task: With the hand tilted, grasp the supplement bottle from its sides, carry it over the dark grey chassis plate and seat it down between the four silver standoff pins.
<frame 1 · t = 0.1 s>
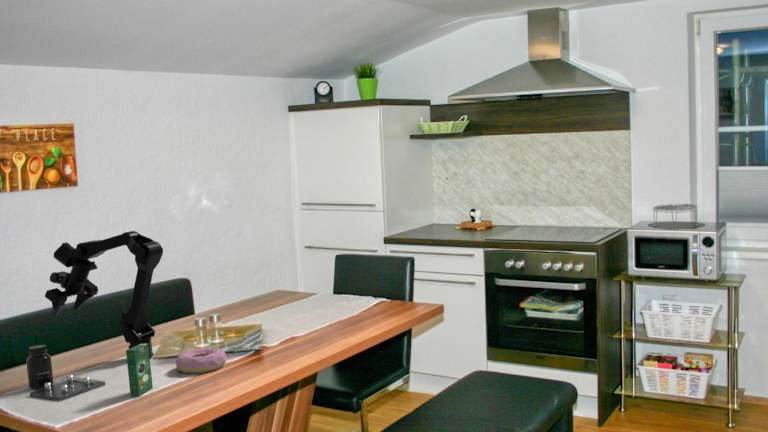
hand: (64, 312, 272), 15 cm above the table, tool tilted 35°, fingers open, 9 cm apart
chassis: (68, 390, 230), on the table
coffee box: (142, 393, 223), on the table
supplement bottle: (41, 386, 238), on the table
donut: (202, 368, 244), on the table
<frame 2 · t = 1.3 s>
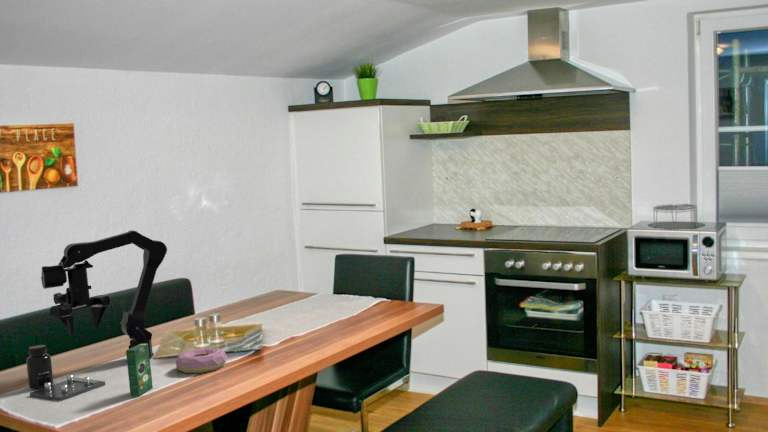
hand: (83, 332, 251), 12 cm above the table, tool pointing down, fingers open, 9 cm apart
nothing on the table moved.
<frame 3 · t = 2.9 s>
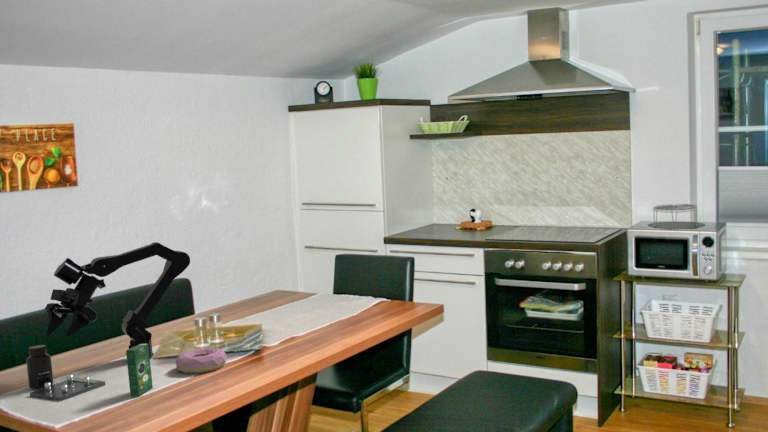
hand: (56, 335, 242), 13 cm above the table, tool tilted 45°, fingers open, 9 cm apart
nothing on the table moved.
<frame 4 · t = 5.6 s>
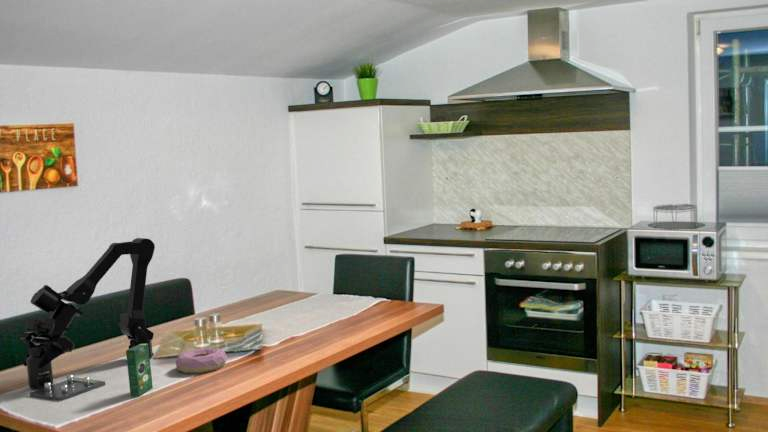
hand: (31, 366, 235), 7 cm above the table, tool tilted 45°, fingers closed on supplement bottle, 6 cm apart
supplement bottle: (41, 386, 238), on the table, touching gripper
everything else where it was.
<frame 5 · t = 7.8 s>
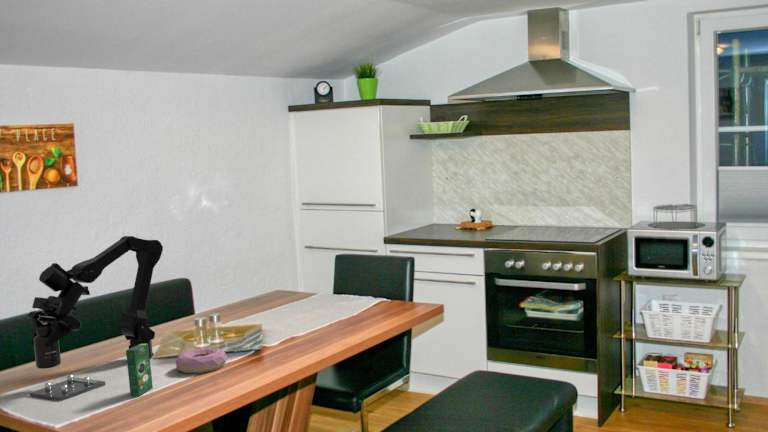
hand: (39, 345, 232), 13 cm above the table, tool tilted 45°, fingers closed on supplement bottle, 6 cm apart
supplement bottle: (49, 366, 235), point 6 cm above the table, touching gripper
everything else where it was.
when the fingers open (8 cm above the table, at t = 10.3 s): supplement bottle stays where it is, resting on chassis.
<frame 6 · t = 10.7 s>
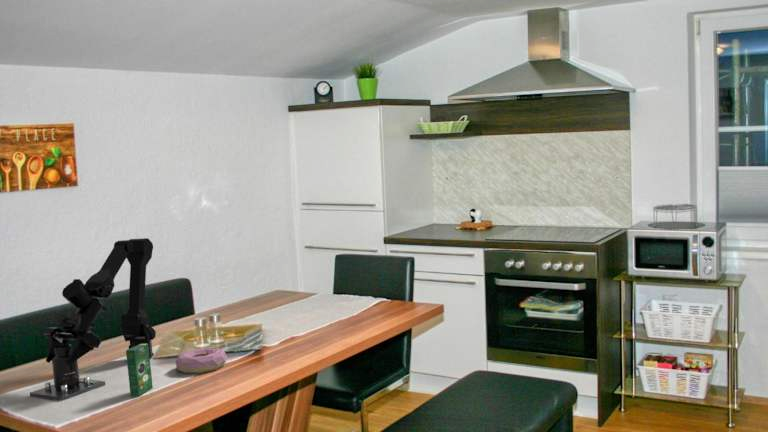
hand: (57, 363, 228), 9 cm above the table, tool tilted 45°, fingers open, 9 cm apart
supplement bottle: (67, 387, 231), point 1 cm above the table, touching chassis
everything else where it was.
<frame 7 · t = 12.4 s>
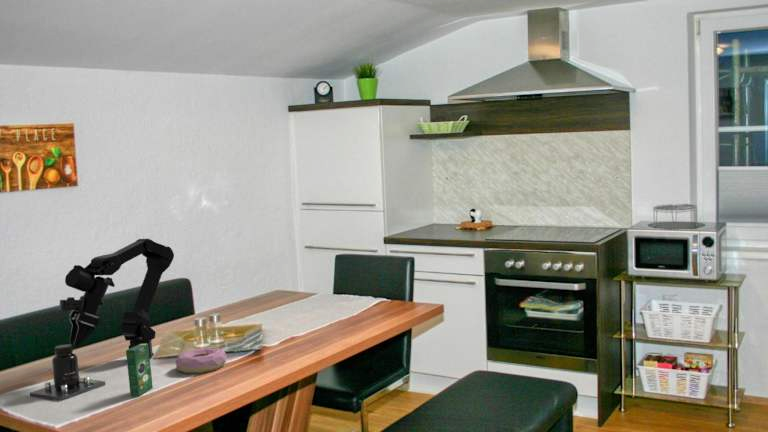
hand: (73, 344, 242), 11 cm above the table, tool tilted 30°, fingers open, 9 cm apart
nothing on the table moved.
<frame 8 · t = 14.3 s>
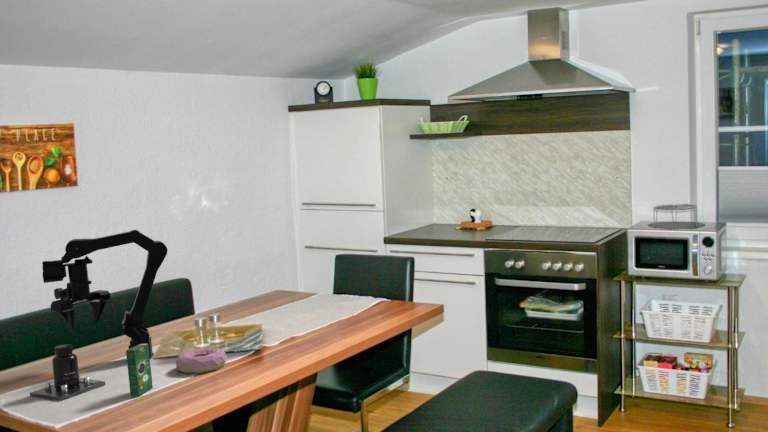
hand: (84, 326, 255), 13 cm above the table, tool pointing down, fingers open, 9 cm apart
nothing on the table moved.
at the end: supplement bottle 0.2 cm off-centre on the chassis, point 0.8 cm above the chassis's base; supplement bottle tilted 0°; the gripper is holding nothing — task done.
